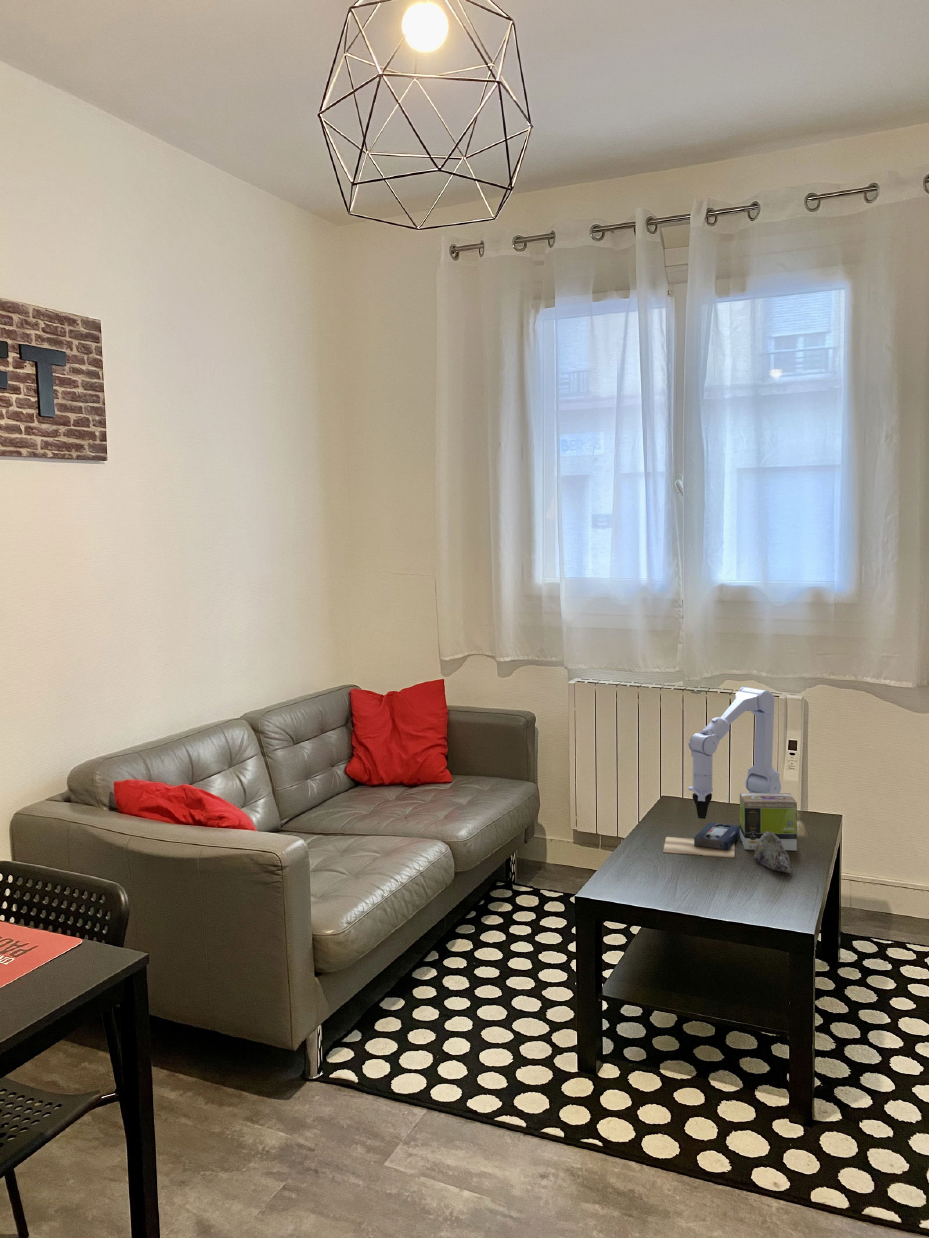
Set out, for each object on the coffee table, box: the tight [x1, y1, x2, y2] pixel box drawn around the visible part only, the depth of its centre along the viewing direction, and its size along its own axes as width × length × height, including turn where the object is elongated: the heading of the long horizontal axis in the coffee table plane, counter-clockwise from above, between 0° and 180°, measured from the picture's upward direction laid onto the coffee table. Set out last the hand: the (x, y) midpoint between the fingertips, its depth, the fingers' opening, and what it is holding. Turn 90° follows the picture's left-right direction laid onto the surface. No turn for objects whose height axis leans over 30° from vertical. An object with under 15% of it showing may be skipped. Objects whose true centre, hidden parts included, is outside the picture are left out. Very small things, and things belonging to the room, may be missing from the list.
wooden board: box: [662, 836, 736, 859], centre depth 287 cm, size 14×20×1 cm
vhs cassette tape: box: [693, 821, 740, 850], centre depth 293 cm, size 18×3×10 cm
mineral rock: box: [753, 831, 793, 874], centre depth 269 cm, size 13×11×10 cm
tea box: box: [739, 792, 798, 852], centre depth 288 cm, size 15×10×15 cm, turn 82°
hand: (702, 817), depth 293 cm, fingers closed
